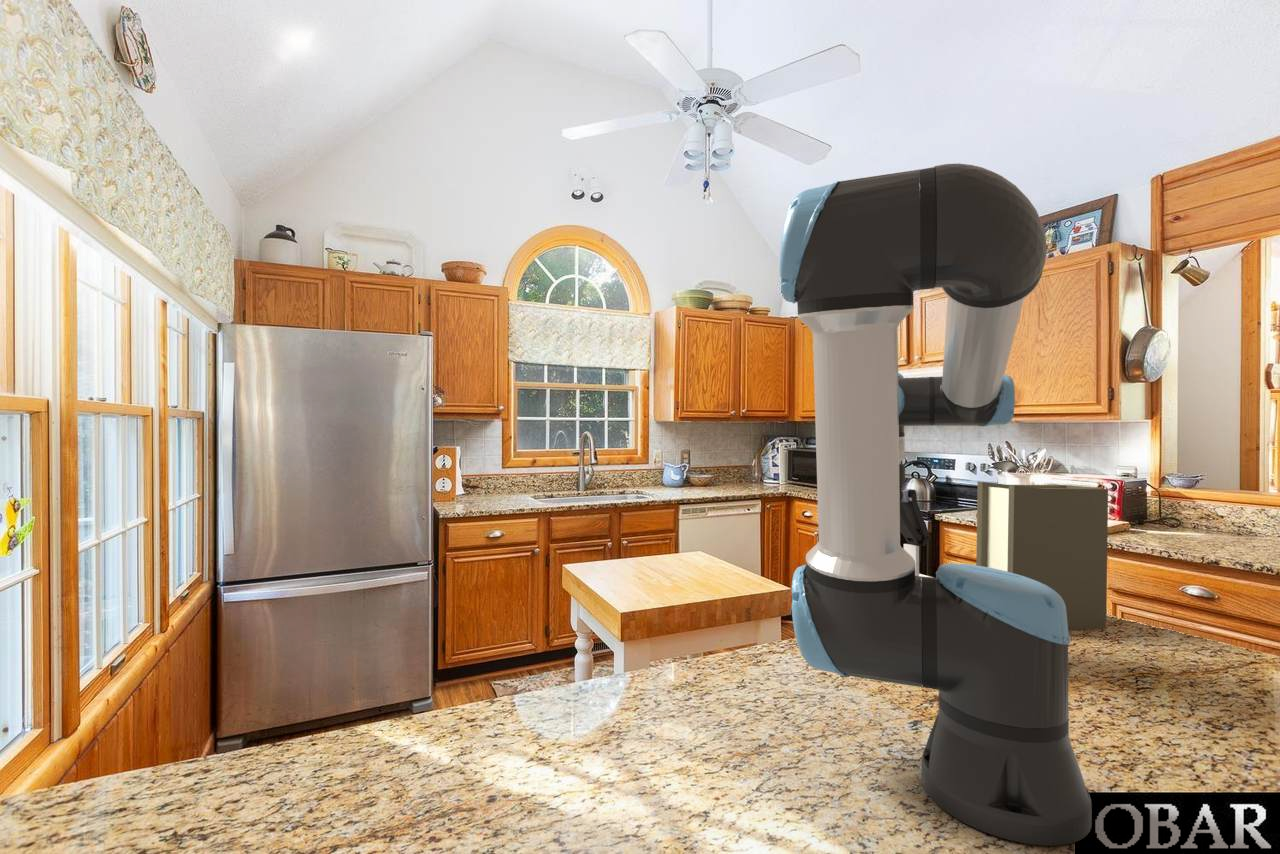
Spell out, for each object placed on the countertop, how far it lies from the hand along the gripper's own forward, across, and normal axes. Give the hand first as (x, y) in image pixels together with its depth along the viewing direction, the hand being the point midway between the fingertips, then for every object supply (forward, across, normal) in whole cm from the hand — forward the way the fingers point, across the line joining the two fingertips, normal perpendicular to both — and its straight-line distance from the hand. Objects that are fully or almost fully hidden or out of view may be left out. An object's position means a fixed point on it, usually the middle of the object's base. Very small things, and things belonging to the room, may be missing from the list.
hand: (882, 585), depth 103 cm
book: (+11, +41, -1) cm, 42 cm away
